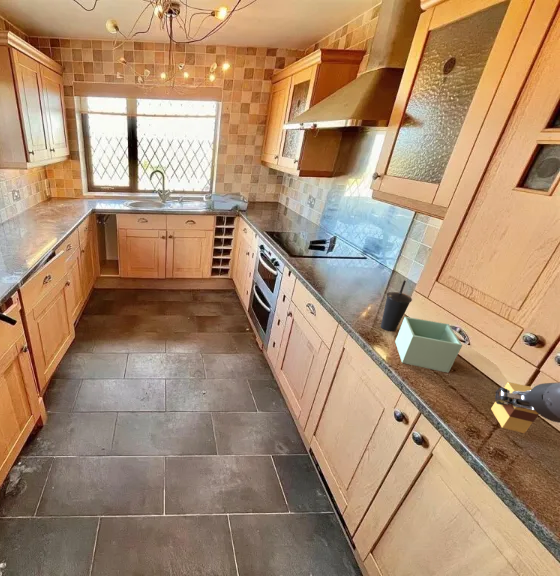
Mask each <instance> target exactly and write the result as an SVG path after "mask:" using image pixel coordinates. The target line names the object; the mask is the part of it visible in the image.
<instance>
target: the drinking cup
mask: <svg viewBox="0 0 560 576" xmlns="http://www.w3.org/2000/svg"><path fill="white" fill-rule="evenodd" d="M402 281H403V282H402V284H401V288H400V290H399V291H390V292H387V293H386V300H385V304H384V308H383V315H382V319H381V323H380V328H381V329H382V330H384V331H386V332H390V333H391V332H392V333H393V332H395V331H396V330H397V328H398V326H399V325H400V323H401V321H402V319H403V317H404V315H405V313H406V311H407V309H408V307H409V305H410V303H411V302H413V298H412V296H409V295H408V294H406V293H403V291H404V288H405V286H406V283H407V280H405V279H404V280H402Z"/></svg>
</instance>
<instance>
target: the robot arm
mask: <svg viewBox="0 0 560 576" xmlns="http://www.w3.org/2000/svg"><path fill="white" fill-rule="evenodd" d="M512 399H513V402H512ZM494 400H495V401H494V403H495V402H496V403H497V404H500V405H513V406H514V407H518V408H523V409H529V410H533V411H536V412H537V413H538V414H539V416H541V417H543V418H544V419H546V420H548V421H551V422H554V423H559V424H560V381H559V382H544V383H540V384H537V385H535V386H534V387H532V390H531V391H525V392H522V391H513V392H512V393H510V391H509V390H508V389H505V388H504V387H499V388H498V389H496V390H495V395H494Z"/></svg>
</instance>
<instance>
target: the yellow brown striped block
mask: <svg viewBox="0 0 560 576" xmlns="http://www.w3.org/2000/svg"><path fill="white" fill-rule="evenodd" d="M503 388H505V389H508V390H509V391H510V393H512V392H513V391H522V392H525V391H531V390H532V389H533V387H531V386H530V385H525V384H520V383H515V382H510V381H507V382H506V384H505V386H504V387H503ZM512 402H513V399H512ZM490 410H491V412H492V413H493V415H494V417H495V418H496V420H497V422H498V423H499V425H500V427H501V428H502V429H505V430H510V431H514V432H517V433H520V434H526V433H527V431H528V430H529V429H530V427H531V425H532V424H533V423H534V422H535V421H536V419H537V418H538V417H539V416H540V414H538V413H537V412H536V411H533V410H529V409H523V408H518V407H514V406H513V405H500V404H497V403H496V402H495V401H494V403H493V405H492V406H491V408H490Z"/></svg>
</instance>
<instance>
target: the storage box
mask: <svg viewBox="0 0 560 576" xmlns="http://www.w3.org/2000/svg"><path fill="white" fill-rule="evenodd" d="M403 317H404V318H403V320H402V323H401V325H400V327H399V330H398V333H397V336H396V339H395V341H394V343H395V346H396V349H397V352H398V354H399V359H400V361H401V363H402V364H406V365H410V366H414V367H419V368H423V369H429V370H433V371H437V372H443V373H447V374H448V373H449V372H450V371H451V369H452V367H453V366H454V363H455V361H456V359H457V357H458V355H459V353H460V351H461V349H462V347H463V344H462V343H461V341H460V339H459V338H458V336H457V334H456V333H455V331H454V330H453V328H452V326H451V325H450V324H449V323H444V322H439V321H433V320H427V319H421V318H415V317H410V316H403Z"/></svg>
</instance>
